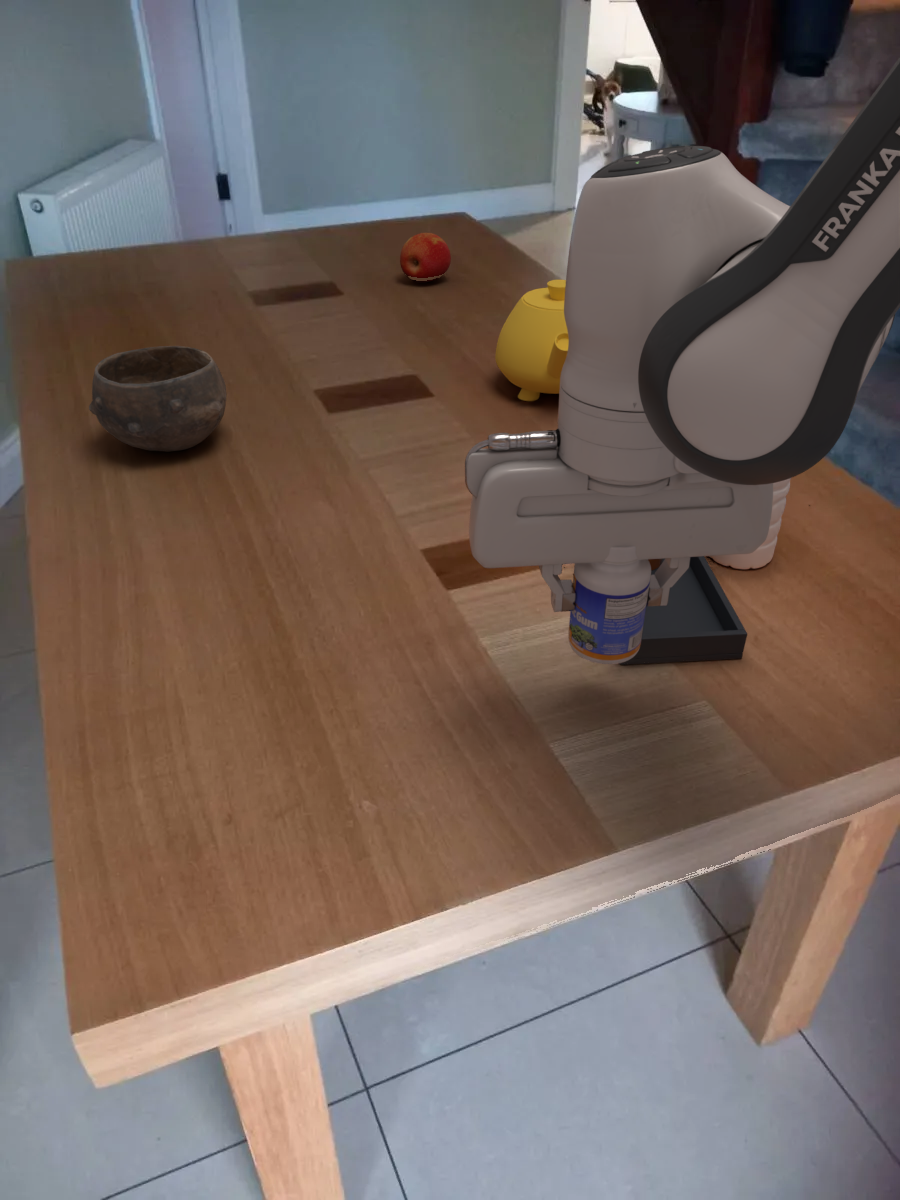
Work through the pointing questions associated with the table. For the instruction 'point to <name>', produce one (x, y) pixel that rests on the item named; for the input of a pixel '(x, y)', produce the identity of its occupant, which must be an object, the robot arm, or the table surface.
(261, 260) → the table surface
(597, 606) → the pill bottle
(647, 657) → the tray
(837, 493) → the table surface
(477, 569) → the table surface
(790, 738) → the table surface
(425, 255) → the apple
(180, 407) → the bowl
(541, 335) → the teapot
